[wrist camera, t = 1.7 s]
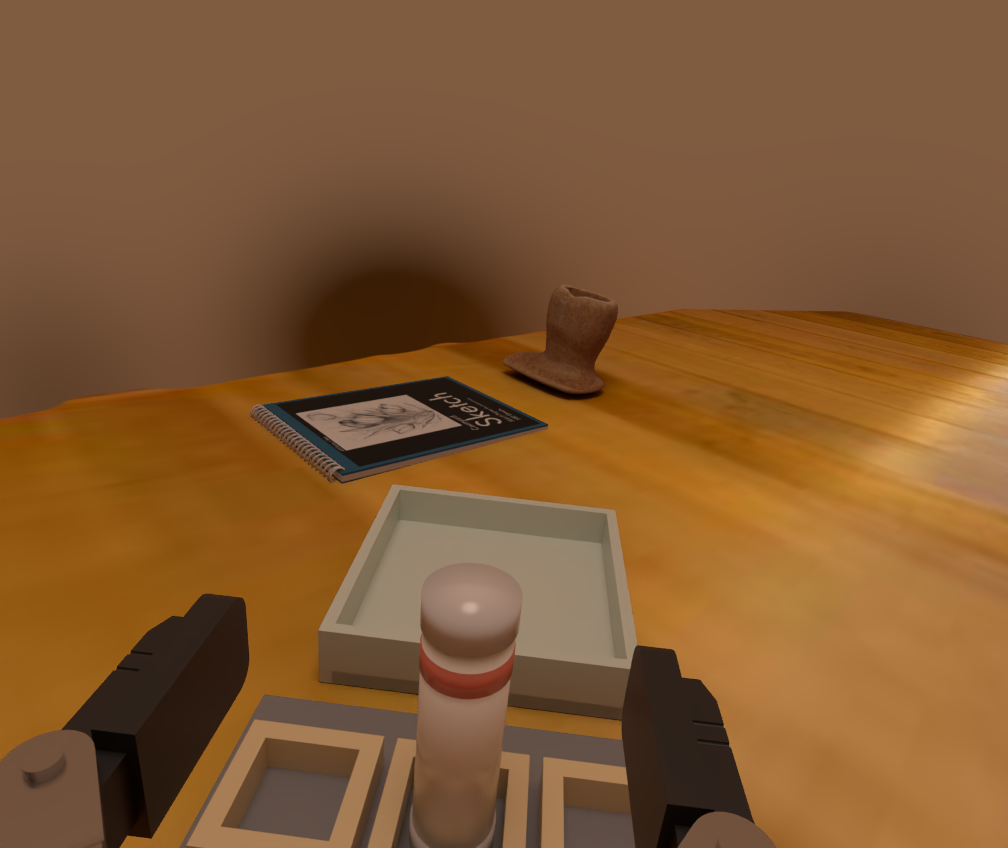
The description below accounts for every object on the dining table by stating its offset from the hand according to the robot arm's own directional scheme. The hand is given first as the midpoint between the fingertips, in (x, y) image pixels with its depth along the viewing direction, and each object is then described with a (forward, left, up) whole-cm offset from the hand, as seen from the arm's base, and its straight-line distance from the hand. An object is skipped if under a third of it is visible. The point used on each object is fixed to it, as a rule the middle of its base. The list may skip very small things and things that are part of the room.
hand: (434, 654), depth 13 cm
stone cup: (-58, +66, -22) cm, 90 cm away
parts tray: (-22, +22, -22) cm, 38 cm away
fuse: (-8, +8, -20) cm, 23 cm away
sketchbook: (-56, +36, -23) cm, 70 cm away
